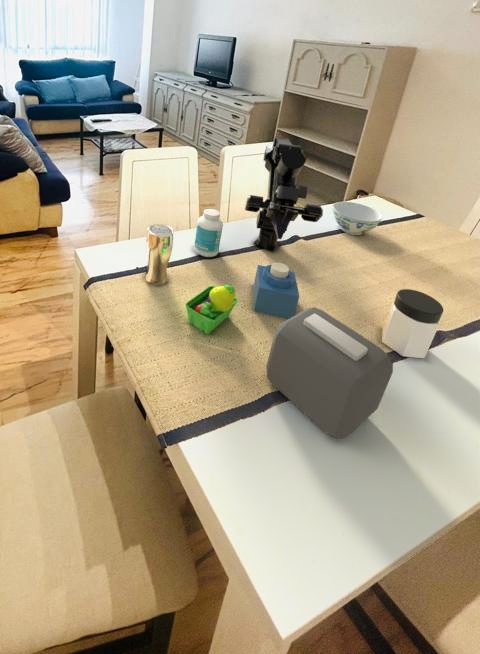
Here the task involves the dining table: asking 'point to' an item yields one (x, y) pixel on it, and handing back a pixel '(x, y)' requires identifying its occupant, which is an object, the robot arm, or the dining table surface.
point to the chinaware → (355, 217)
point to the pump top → (279, 270)
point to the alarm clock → (328, 370)
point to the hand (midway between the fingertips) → (279, 238)
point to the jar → (412, 323)
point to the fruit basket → (211, 307)
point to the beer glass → (158, 253)
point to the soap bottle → (275, 293)
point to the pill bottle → (208, 233)
